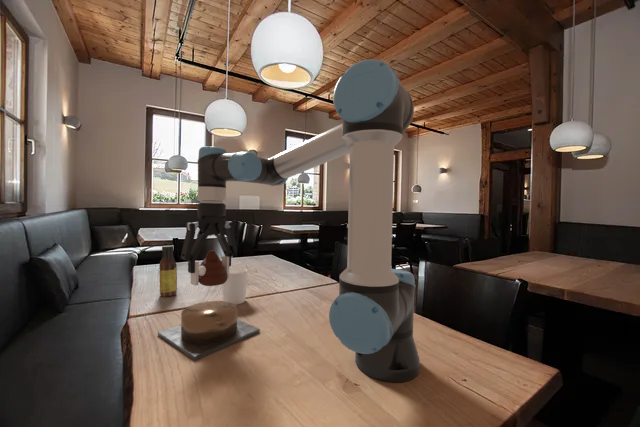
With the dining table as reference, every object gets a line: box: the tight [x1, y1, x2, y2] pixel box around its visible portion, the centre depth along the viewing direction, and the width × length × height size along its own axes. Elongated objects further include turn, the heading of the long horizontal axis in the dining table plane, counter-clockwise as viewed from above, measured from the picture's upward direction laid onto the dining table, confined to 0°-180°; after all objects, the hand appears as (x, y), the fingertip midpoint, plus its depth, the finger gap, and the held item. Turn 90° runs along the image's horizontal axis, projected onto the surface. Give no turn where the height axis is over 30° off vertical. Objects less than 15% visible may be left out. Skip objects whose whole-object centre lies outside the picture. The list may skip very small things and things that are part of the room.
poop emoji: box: [198, 250, 228, 287], centre depth 81 cm, size 10×8×9 cm
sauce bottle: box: [158, 245, 178, 298], centre depth 115 cm, size 7×6×20 cm
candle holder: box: [221, 267, 249, 306], centre depth 109 cm, size 10×10×12 cm
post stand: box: [157, 300, 261, 361], centre depth 82 cm, size 20×20×7 cm
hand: (210, 280), depth 81 cm, fingers closed on poop emoji, 9 cm apart
